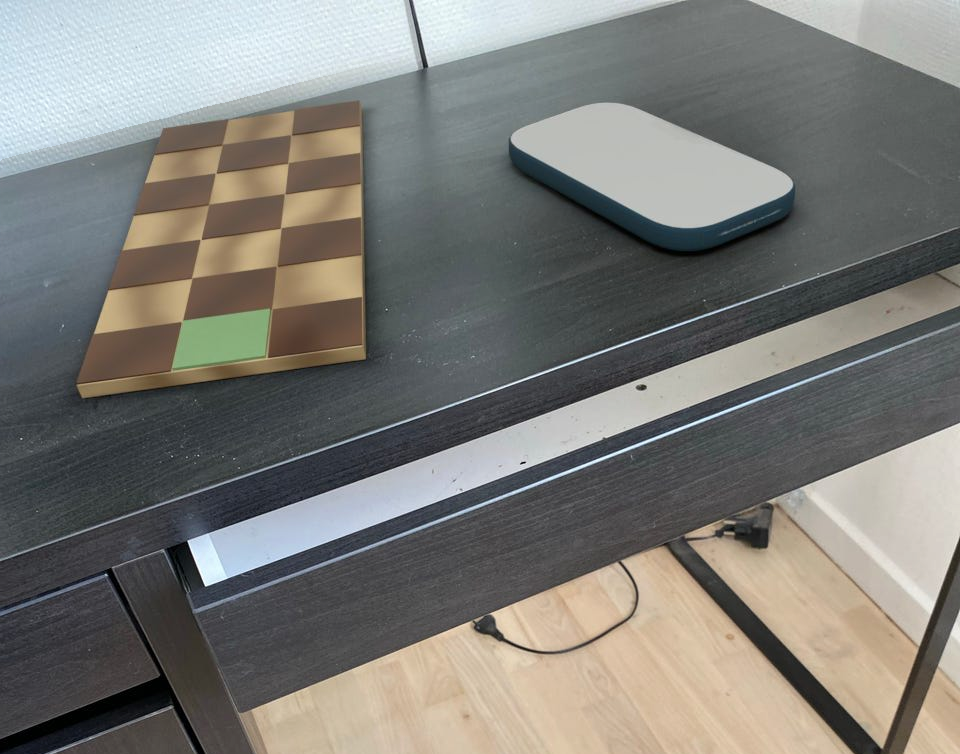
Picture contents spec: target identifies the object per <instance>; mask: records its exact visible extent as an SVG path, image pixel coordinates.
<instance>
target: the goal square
mask: <svg viewBox="0 0 960 754" xmlns="http://www.w3.org/2000/svg"><path fill="white" fill-rule="evenodd" d="M270 314H271V310H270V309H264V310H256V311H249V312H242V313H235V314H228V315H220V316H213V317H206V318H199V319H192V320H184V321H183V323H182V328H181V332H180V336H179V341H178V345H177V350H176V354H175V358H174V363H173V367H172V369H173V371H175V370H183V369H190V368H197V367H204V366H211V365H219V364H226V363H233V362H240V361H248V360H255V359H262V358H266V350H267V341H268V332H269V323H270Z"/></svg>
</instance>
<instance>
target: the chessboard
mask: <svg viewBox="0 0 960 754" xmlns="http://www.w3.org/2000/svg"><path fill="white" fill-rule="evenodd" d="M363 134H364V133H363V109H362V103H361V101H360V100H358V99H357V100H352V101H344V102H338V103H331V104H324V105H316V106H309V107H302V108H295V109H294V110H290V111H284V112H276V113H269V114H262V115H255V116H249V117H241V118H234V119H228V118H226V119H225V118H223V119H219V120H218V119H217V120H211V121H210V120H209V121H204V122H203V121H202V122H196V123H190V124H183V125H175V126H170V127H163V128H162V130H161V134H160V136H159V139H158V143H157V145H156V147H155V151H154V156H153V159H152V162H151V165H150V168H149V170H148V173H147V176H146V179H145V182H144V183H143V186H142V189H141V192H140V194H139V198H138V199H137V200H138V201H137V203H136V206H135V210H134V212H133V218H132V221H131V224H130V225H129V229H128V232H127V235H126V238H125V241H124V244H123V247H122V250H121V251H120V252H119V257H118V259H117V262H116V265H115V268H114V271H113V274H112V277H111V280H110V283H109V286H108V289H107V294H106V297H105V300H104V303H103V305H102V308H101V311H100V315H99V317H98V320H97V324H96V327H95V330H94V332H93V334H92V336H91V339H90V342H89V344H88V347H87V350H86V352H85V353H86V354H85V356H84V359H83V362H82V364H81V368H80V371H79V373H78V377H77V380H76V384H75V385H76V388H77V390H78V392H79V394H80V396H81V398H82V399H88V398H95V397H103V396H109V395H110V396H111V395H117V394H125V393H131V392H139V391H140V392H141V391H144V390H145V391H146V390H153V389H161V388H168V387H177V386H183V385H190V384H191V385H192V384H197V383H205V382H211V381H218V380H227V379H232V378H240V377H248V376H256V375H262V374H270V373H277V372H284V371H290V370H297V369H305V368H313V367H314V368H315V367H321V366H327V365H328V366H329V365H334V364H341V363H342V364H343V363H348V362H355V361H364V360H367V330H366V329H367V328H366V327H367V326H366V325H367V321H366V271H365V270H366V268H365V267H366V265H365V264H366V263H365V261H366V259H365V256H366V255H365V207H364V205H365V203H364V201H365V200H364V198H365V197H364V195H365V193H364V142H363V140H364V135H363ZM264 309H270V310H271V314H270V323H269V332H268V341H267V350H266V358H262V359H255V360H248V361H240V362H233V363H226V364H219V365H211V366H204V367H197V368H190V369H183V370H175V371H173V369H172V367H173V363H174V358H175V354H176V350H177V345H178V341H179V336H180V332H181V328H182V323H183V321H184V320H192V319H199V318H206V317H213V316H220V315H228V314H235V313H242V312H249V311H256V310H264Z"/></svg>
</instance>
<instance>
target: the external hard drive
mask: <svg viewBox="0 0 960 754" xmlns="http://www.w3.org/2000/svg"><path fill="white" fill-rule="evenodd" d="M508 155H509V156H508V157H509V159H510V161H511V163H512V165H514V166H515V168H517V169H518V170H519V171H521V172H523V173H524V174H526V175H527V176H530V177H531V178H532V179H535V180H537V181H539V182H540V183H541V184H544V185H546V186H547V187H549V188H551V189H553V190H555V191H557V192H559V193H560V194H562V195H563V196H566V197H567V198H569V199H571V200H572V201H574V202H576V203H578V204H579V205H581V206H583V207H585V208H586V209H588V210H591V211H592V212H594V213H596V214H598V216H599V215H600V216H601V217H603V218H605V219H606V220H608V221H610V222H612V223H613V224H616V225H617V226H619V227H621V228H622V229H624V230H626V231H627V232H630V233H631V234H633V235H635V236H637V237H639V238H640V239H642V240H643V241H646V242H647V243H650V244H652V245H654V246H657V247H659V248H663V249H665V250H670V251H676V252H697V251H703V250H708V249H713V248H715V247H717V246H720V245H723V244H725V243H728V242H730V241H732V240H735V239H737V238H740V237H742V236H745V235H748V234H749V233H752V232H754V231H756V230H760V229H761V228H764V227H766V226H769V225H772V224H773V223H775V222H777V221H779V220H781V219H783V218H784V217H787V216H788V215H789V214H790V212H791V211H792V209H793V207H794V204H795V198H796V185H795V182H794V180H793V179H792V177H791V176H790V175H789V174H787V173H786V172H784V171H782V170H780V169H779V168H777V167H775V166H772V165H770V164H769V163H765V162H763V161H762V160H759V159H757V158H755V157H752V156H749V155H747V154H745V153H742V152H741V151H738V150H735V149H734V148H732V147H728V146H727V145H724V144H722V143H720V142H717V141H715V140H713V139H710V138H708V137H706V136H703V135H701V134H699V133H696V132H693V131H691V130H690V129H687V128H685V127H682V126H680V125H678V124H675V123H673V122H671V121H669V120H666V119H664V118H661V117H660V116H657V115H654V114H652V113H650V112H648V111H645V110H643V109H641V108H639V107H638V108H637V107H636V106H632V105H629V104H626V103H621V102H611V101H605V102H602V101H601V102H593V103H589V104H585V105H582V106H581V105H580V106H577V107H575V108H571V109H569V110H567V111H563V112H561V113H558V114H555V115H552V116H549V117H546V118H543V119H541V120H537V121H534V122H532V123H529V124H527V125H524V126H522V127H519V128H517V129H516V130H514V131H513V132H512V133H511V135H510V136H509V138H508Z"/></svg>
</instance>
